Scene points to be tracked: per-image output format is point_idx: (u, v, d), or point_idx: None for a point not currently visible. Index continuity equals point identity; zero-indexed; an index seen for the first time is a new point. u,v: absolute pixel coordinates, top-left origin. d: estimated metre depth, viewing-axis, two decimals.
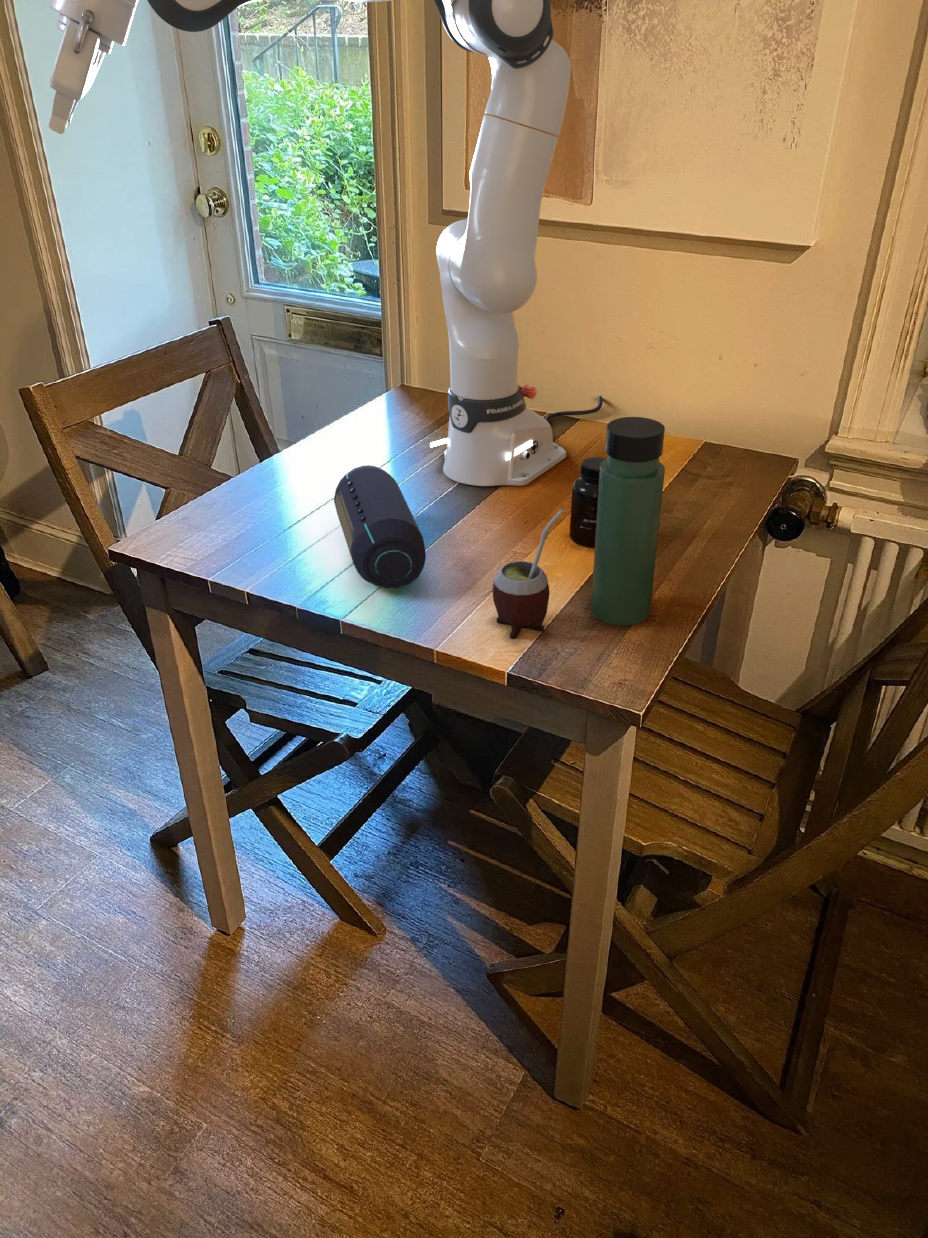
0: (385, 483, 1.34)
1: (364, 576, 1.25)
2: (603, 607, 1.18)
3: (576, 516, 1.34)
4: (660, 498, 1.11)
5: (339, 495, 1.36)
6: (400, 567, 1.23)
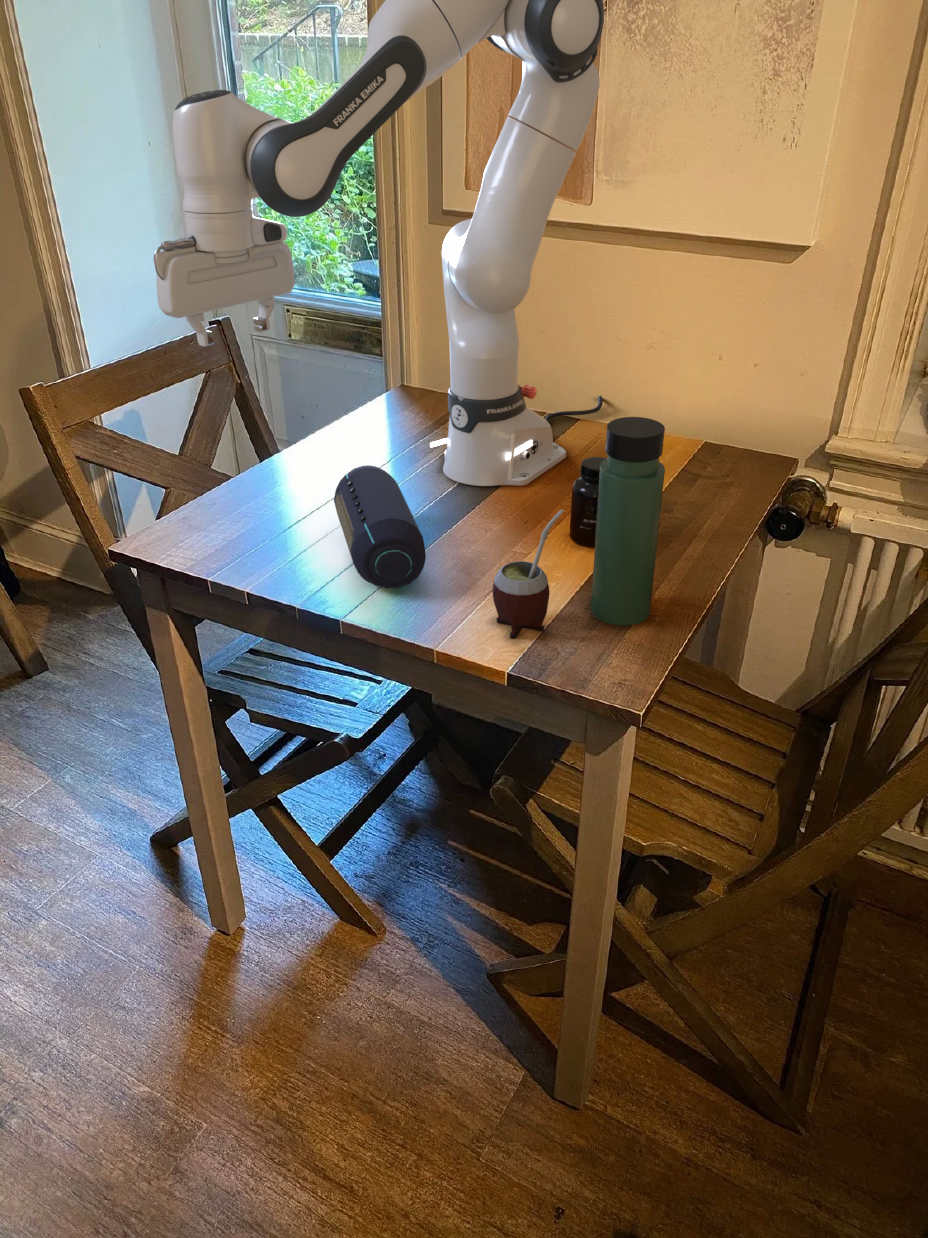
0: (385, 483, 1.34)
1: (364, 576, 1.25)
2: (603, 607, 1.18)
3: (576, 516, 1.34)
4: (660, 498, 1.11)
5: (339, 495, 1.36)
6: (400, 567, 1.23)
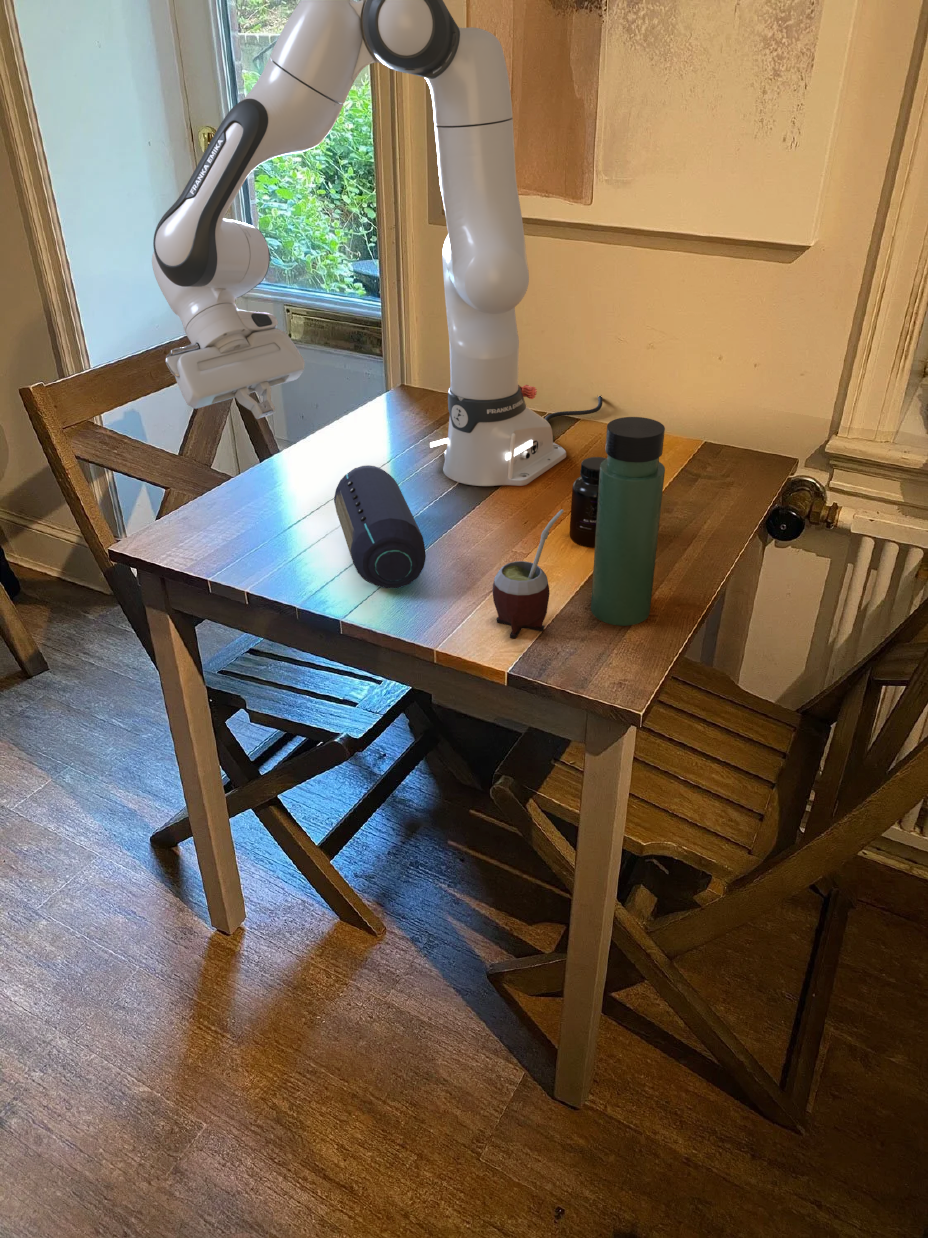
0: (385, 483, 1.34)
1: (364, 576, 1.25)
2: (603, 607, 1.18)
3: (576, 516, 1.34)
4: (660, 498, 1.11)
5: (339, 495, 1.36)
6: (400, 567, 1.23)
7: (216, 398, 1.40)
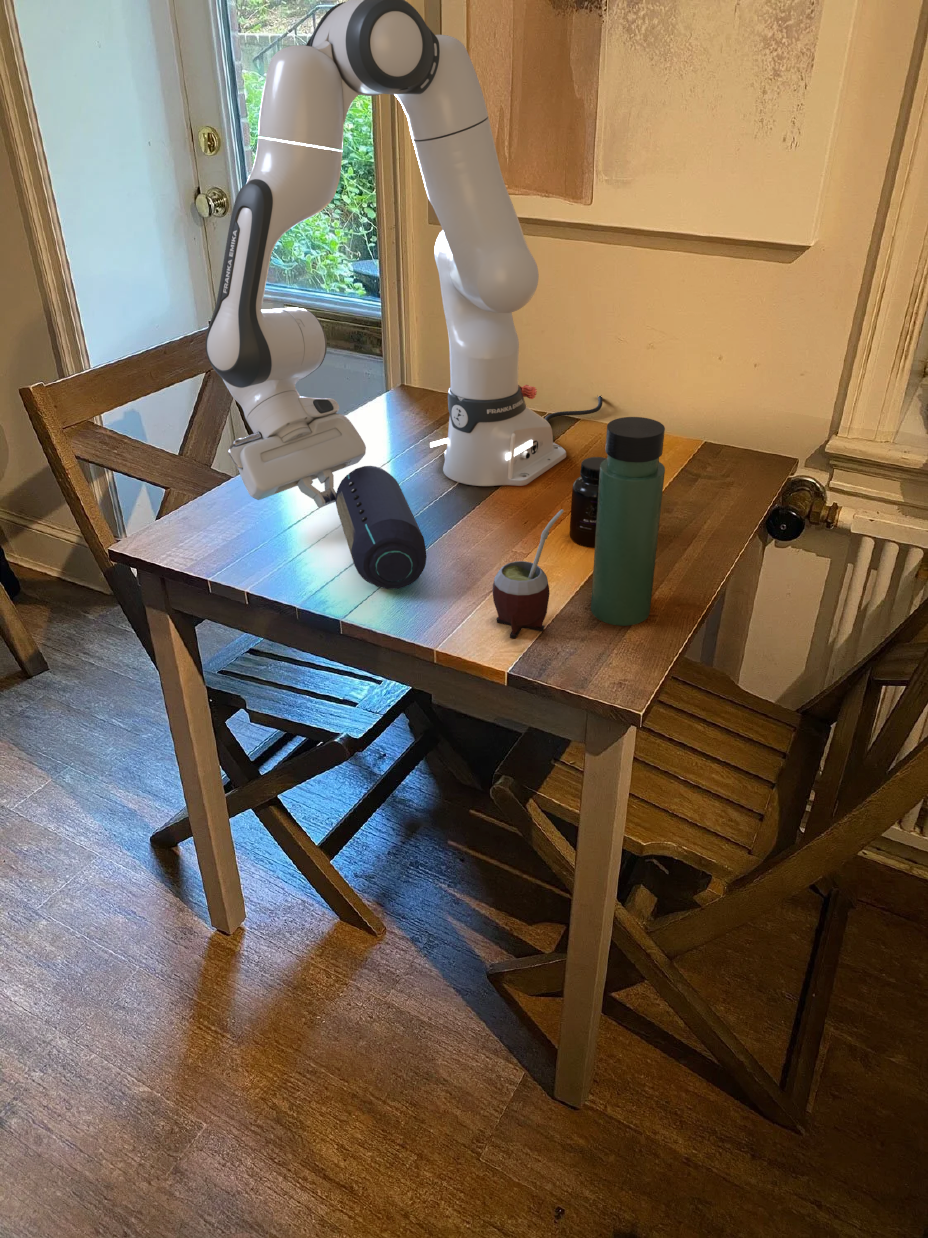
0: (386, 483, 1.33)
1: (365, 577, 1.25)
2: (603, 607, 1.18)
3: (576, 516, 1.34)
4: (660, 498, 1.11)
5: (340, 495, 1.36)
6: (401, 568, 1.23)
7: (279, 488, 1.38)
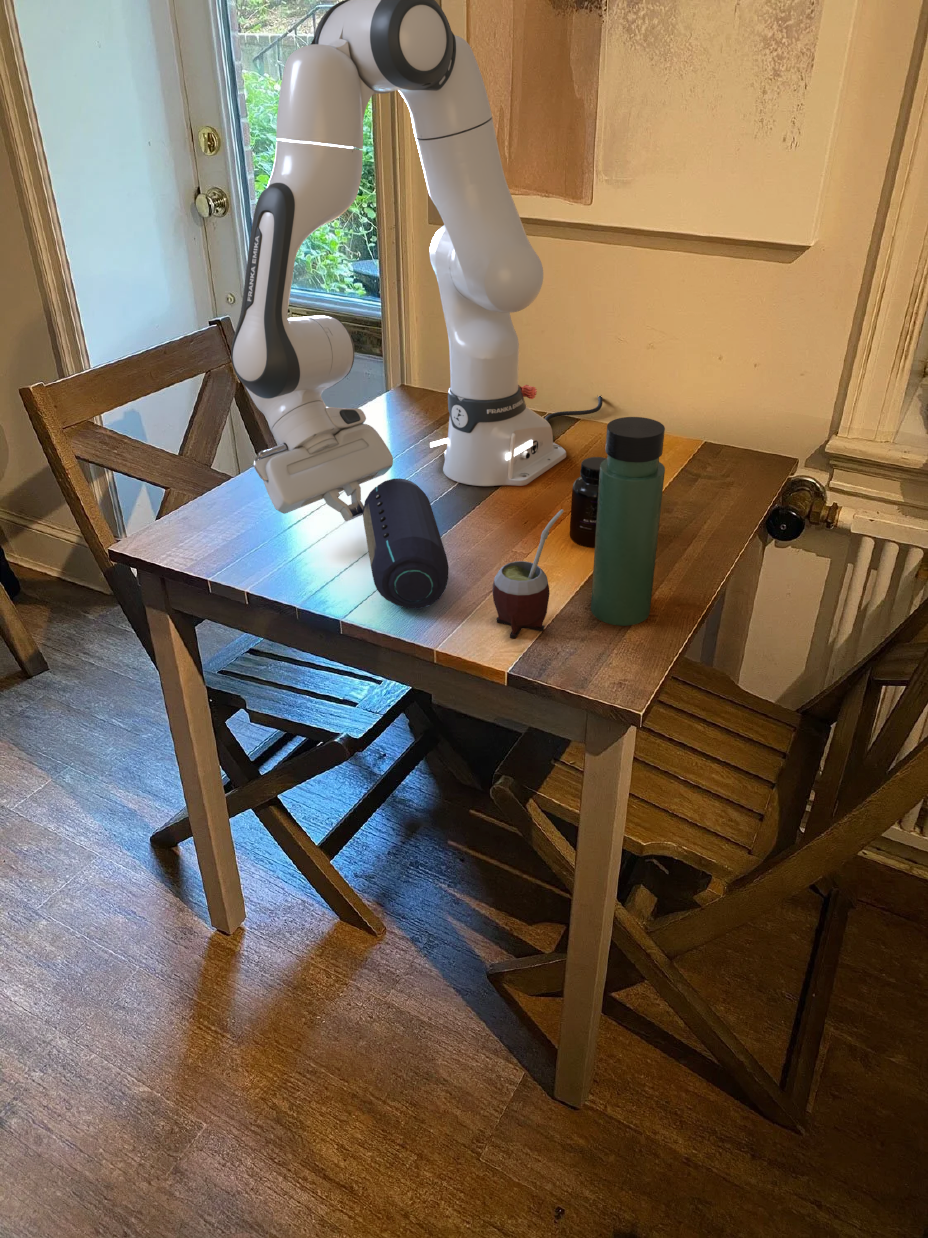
0: (414, 498, 1.29)
1: (383, 595, 1.21)
2: (603, 607, 1.18)
3: (576, 516, 1.34)
4: (660, 498, 1.11)
5: (367, 508, 1.32)
6: (420, 588, 1.18)
7: (305, 501, 1.34)
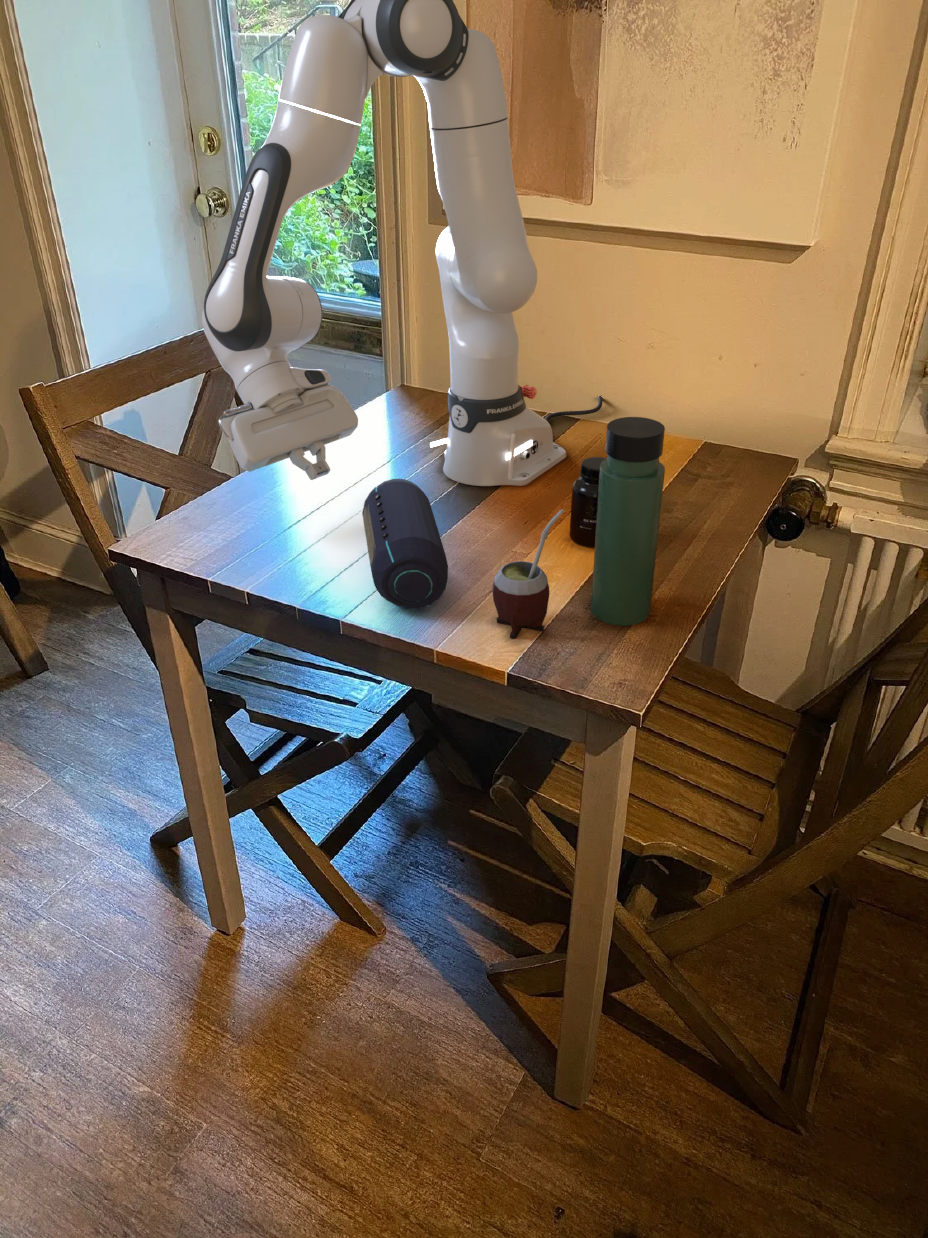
0: (413, 498, 1.29)
1: (383, 595, 1.21)
2: (603, 607, 1.18)
3: (576, 516, 1.34)
4: (660, 498, 1.11)
5: (367, 508, 1.32)
6: (420, 588, 1.18)
7: (270, 460, 1.36)
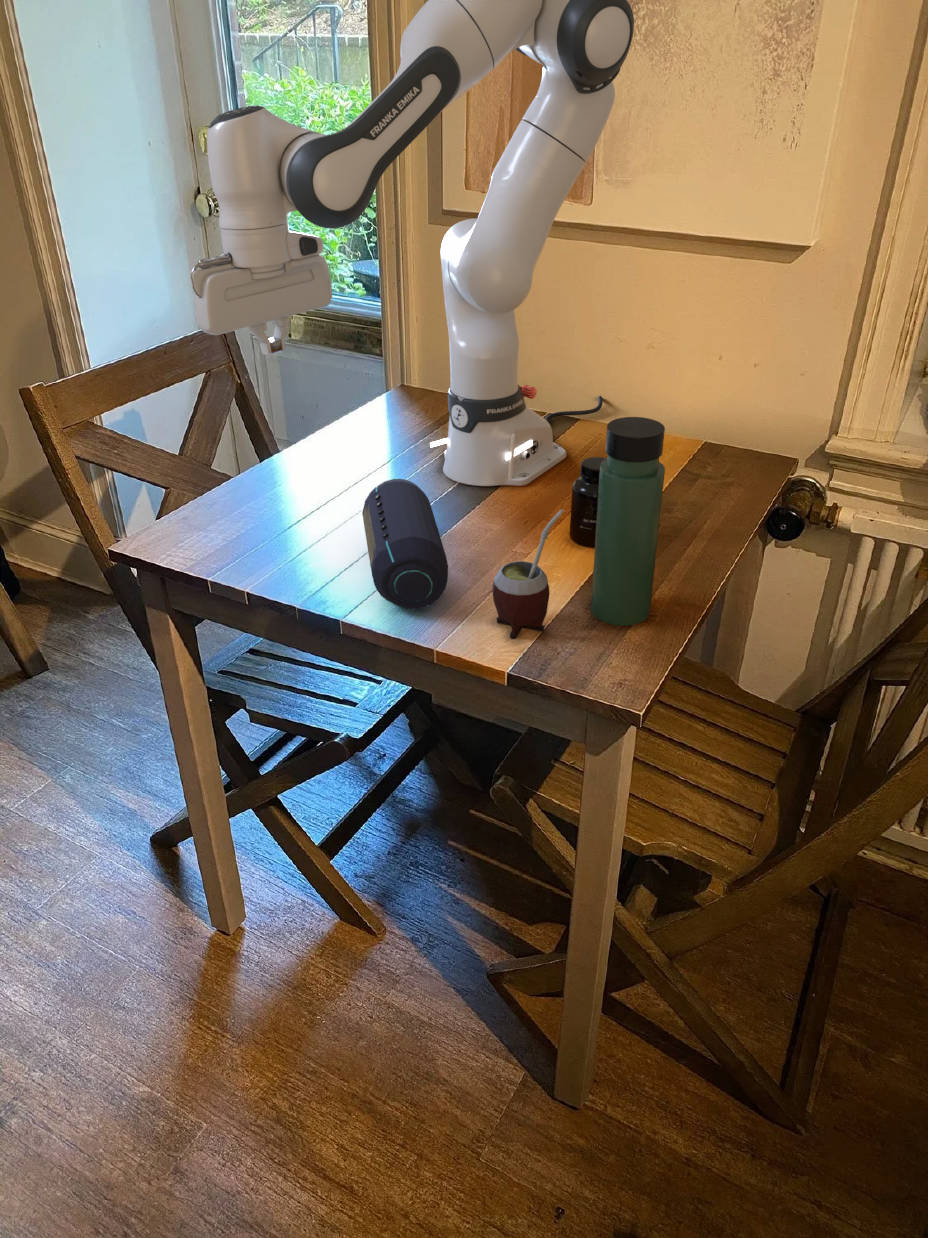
0: (413, 498, 1.29)
1: (383, 595, 1.21)
2: (603, 607, 1.18)
3: (576, 516, 1.34)
4: (660, 498, 1.11)
5: (367, 508, 1.32)
6: (420, 588, 1.18)
7: None
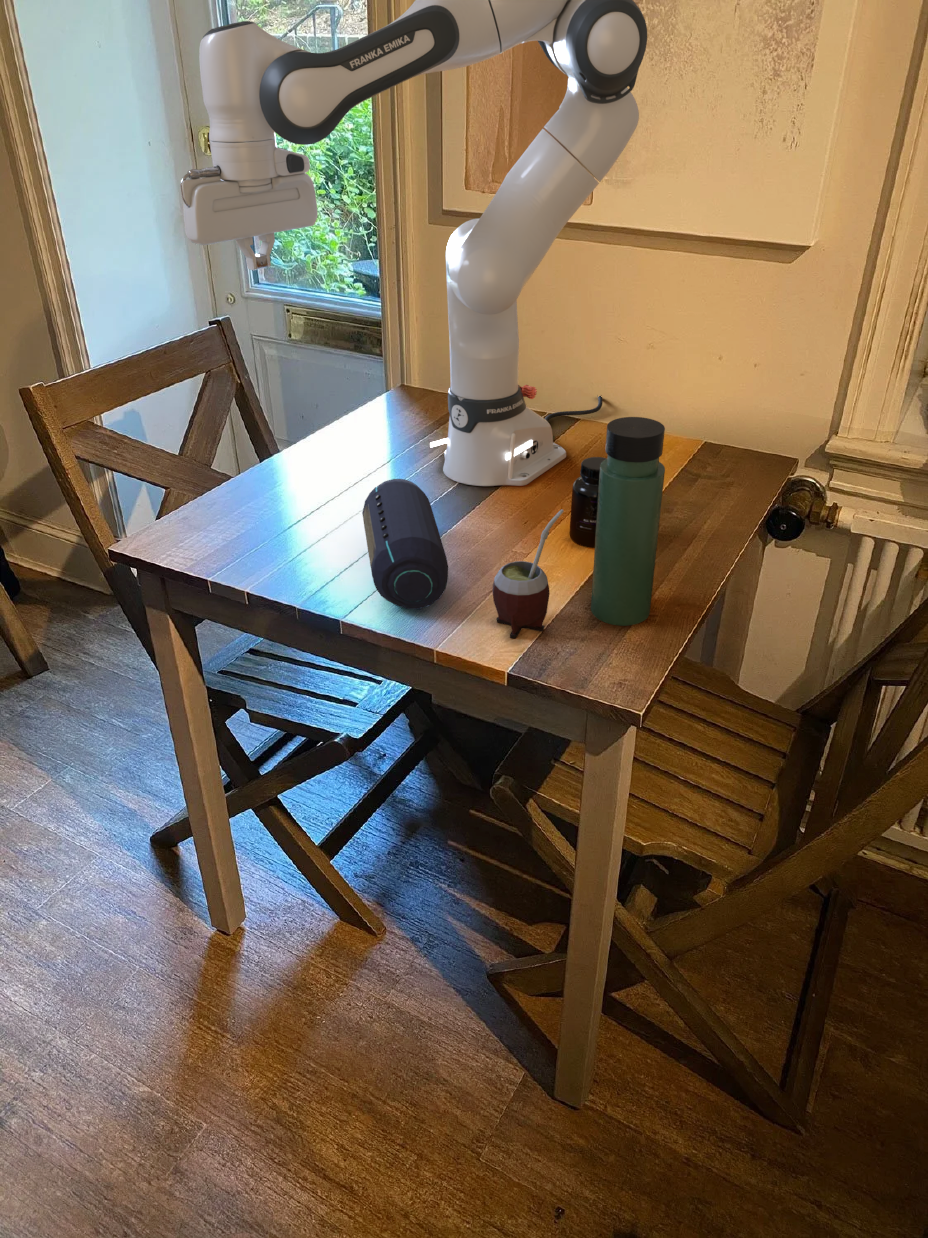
0: (413, 498, 1.29)
1: (383, 595, 1.21)
2: (603, 607, 1.18)
3: (576, 516, 1.34)
4: (660, 498, 1.11)
5: (367, 508, 1.32)
6: (420, 588, 1.18)
7: None
